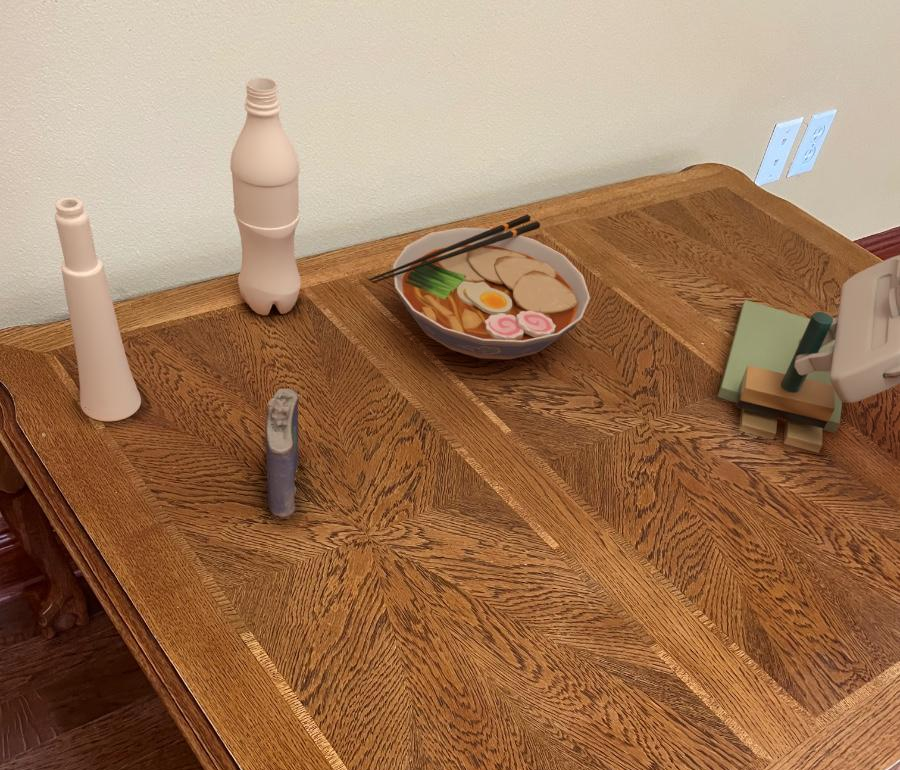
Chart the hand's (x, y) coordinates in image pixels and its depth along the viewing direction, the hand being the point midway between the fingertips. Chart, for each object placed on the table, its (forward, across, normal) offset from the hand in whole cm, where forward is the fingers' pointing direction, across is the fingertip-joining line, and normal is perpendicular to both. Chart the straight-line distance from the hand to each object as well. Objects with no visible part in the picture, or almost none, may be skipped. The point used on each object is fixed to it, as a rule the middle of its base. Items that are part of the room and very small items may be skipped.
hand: (798, 357), depth 103 cm
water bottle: (+49, -8, +36) cm, 61 cm away
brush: (+4, 0, -5) cm, 7 cm away
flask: (+38, -35, +26) cm, 58 cm away
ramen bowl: (+31, -1, +18) cm, 36 cm away
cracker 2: (+3, -2, -9) cm, 10 cm away
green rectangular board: (+6, +11, -6) cm, 14 cm away
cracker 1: (+7, -2, -5) cm, 9 cm away
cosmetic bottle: (+53, -31, +40) cm, 74 cm away
